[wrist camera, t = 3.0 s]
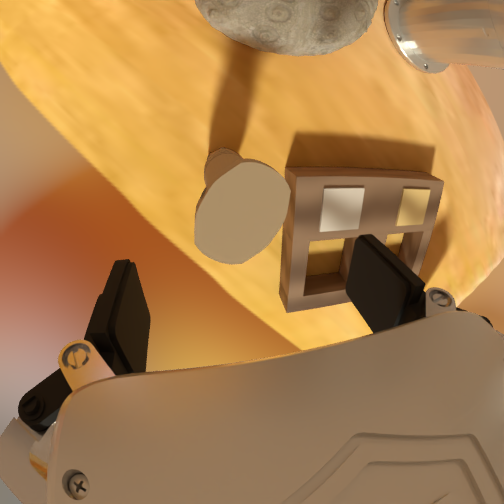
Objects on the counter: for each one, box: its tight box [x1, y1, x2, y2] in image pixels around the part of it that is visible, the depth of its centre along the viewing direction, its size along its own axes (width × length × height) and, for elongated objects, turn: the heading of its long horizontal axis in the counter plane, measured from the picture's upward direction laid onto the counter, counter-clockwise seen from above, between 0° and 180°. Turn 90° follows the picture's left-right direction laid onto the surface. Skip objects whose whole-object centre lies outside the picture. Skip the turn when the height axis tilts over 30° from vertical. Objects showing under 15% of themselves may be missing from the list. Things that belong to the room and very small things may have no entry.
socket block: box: [279, 167, 444, 313], centre depth 34 cm, size 18×22×4 cm
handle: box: [195, 147, 291, 264], centre depth 22 cm, size 5×6×15 cm
